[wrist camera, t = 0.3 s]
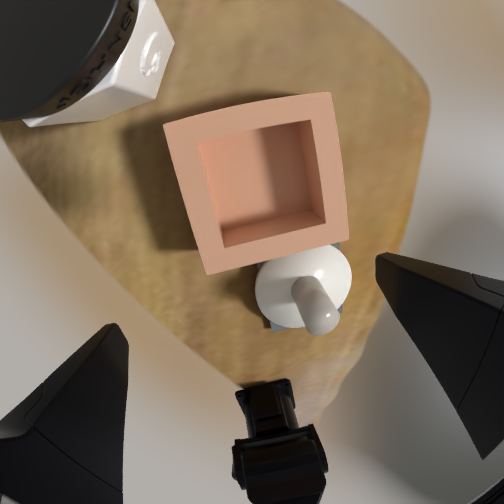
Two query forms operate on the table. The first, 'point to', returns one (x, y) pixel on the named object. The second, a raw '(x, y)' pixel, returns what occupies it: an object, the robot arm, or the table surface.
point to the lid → (304, 289)
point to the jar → (79, 58)
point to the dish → (261, 179)
